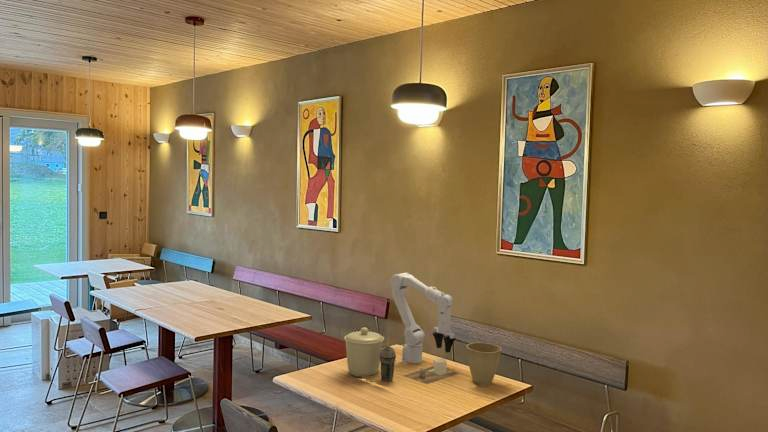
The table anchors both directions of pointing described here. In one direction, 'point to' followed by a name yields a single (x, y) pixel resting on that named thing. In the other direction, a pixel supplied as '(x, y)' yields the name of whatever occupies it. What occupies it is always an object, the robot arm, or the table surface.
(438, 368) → the beige stacked cube
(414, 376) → the post board
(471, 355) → the plant pot
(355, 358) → the canister
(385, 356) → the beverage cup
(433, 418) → the table surface
